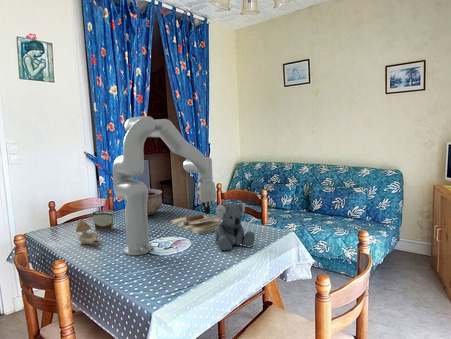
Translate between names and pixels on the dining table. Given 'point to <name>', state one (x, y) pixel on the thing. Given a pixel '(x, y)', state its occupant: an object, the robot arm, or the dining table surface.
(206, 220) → the tile
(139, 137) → the robot arm
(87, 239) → the oil lamp
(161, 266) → the dining table surface
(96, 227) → the food container
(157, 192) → the ceramic bowl
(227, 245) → the koala plush
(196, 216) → the tile stand
